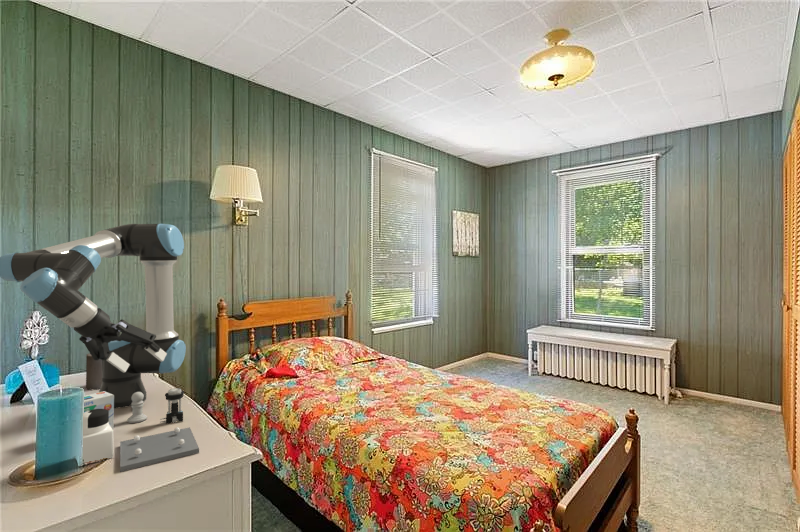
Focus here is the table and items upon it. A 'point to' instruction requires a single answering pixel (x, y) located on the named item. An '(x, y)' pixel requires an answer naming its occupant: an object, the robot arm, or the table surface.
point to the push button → (174, 405)
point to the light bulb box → (101, 404)
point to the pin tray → (157, 448)
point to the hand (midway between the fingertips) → (145, 363)
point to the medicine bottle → (97, 435)
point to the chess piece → (137, 408)
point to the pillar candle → (93, 372)
